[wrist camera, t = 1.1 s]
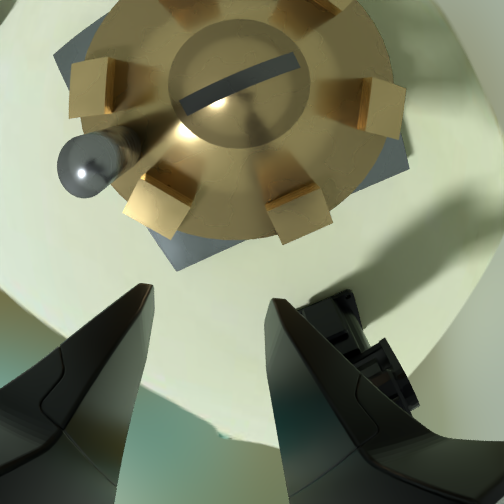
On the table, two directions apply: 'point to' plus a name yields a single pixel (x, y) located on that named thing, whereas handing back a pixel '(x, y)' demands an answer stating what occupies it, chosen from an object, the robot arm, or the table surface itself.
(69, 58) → the base plate
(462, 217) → the table surface
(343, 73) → the ring nut
